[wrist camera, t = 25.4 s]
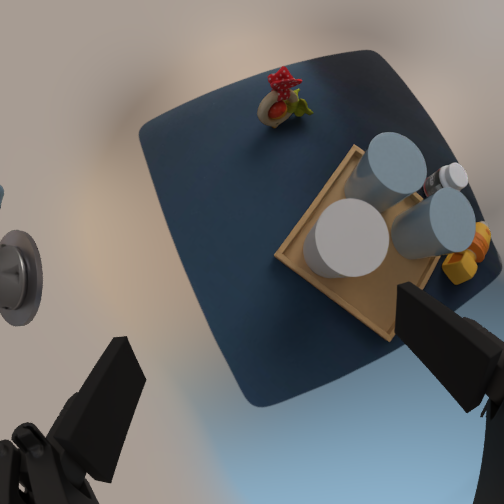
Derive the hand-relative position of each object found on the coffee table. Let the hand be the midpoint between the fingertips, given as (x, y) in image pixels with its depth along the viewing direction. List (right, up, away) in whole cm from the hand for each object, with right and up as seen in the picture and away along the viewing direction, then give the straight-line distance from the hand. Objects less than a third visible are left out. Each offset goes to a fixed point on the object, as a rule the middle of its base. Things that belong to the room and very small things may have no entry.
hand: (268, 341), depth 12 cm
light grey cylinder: (+11, +4, +27) cm, 29 cm away
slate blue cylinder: (+17, +13, +27) cm, 35 cm away
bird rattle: (+5, +26, +30) cm, 40 cm away
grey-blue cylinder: (+25, +7, +26) cm, 36 cm away
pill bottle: (+31, +15, +27) cm, 43 cm away
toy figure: (+36, +4, +26) cm, 45 cm away
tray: (+18, +6, +27) cm, 33 cm away
